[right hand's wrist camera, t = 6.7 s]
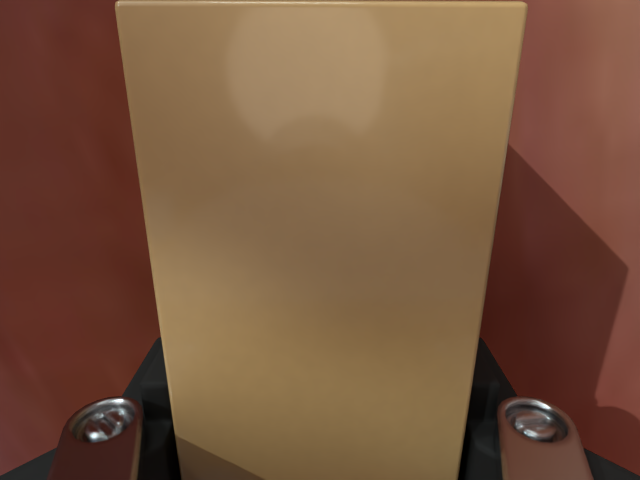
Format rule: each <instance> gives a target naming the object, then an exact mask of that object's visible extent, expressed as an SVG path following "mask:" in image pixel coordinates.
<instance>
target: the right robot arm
mask: <svg viewBox="0 0 640 480" xmlns="http://www.w3.org/2000/svg"><path fill="white" fill-rule="evenodd" d="M0 480H181V474H180V467H179V460H178V453H177V446H176V439H175V432H174V425H173V417H172V410H171V403H170V396H169V389H168V382H167V375H166V368H165V360H164V353H163V346H162V339H161V337H160V338H158V339H157V340H156V341H155V343H154V344H153V346H152V348H151V349H150V351H149V353H148V354H147V356H146V357H145V359H144V361H143V362H142V364H141V366H140V367H139V369H138V371H137V372H136V374H135V375H134V377H133V379H132V380H131V382H130V384H129V385H128V387H127V389H126V390H125V392H124V393H123V395H122V396H116V397H107V398H104V399H100V400H97V401H94V402H92V403H90V404H88V405H85V406H84V407H82V408H81V409H79V410H78V411H76V412H75V413H74V414H73V415H72V416H71V417H70V418H69V419H68V421H67V422H66V424H65V426H64V428H63V431H62V434H61V437H60V440H59V443H58V446H57V448H55V449H53V450H51V451H49V452H47V453H45V454H43V455H41V456H39V457H37V458H35V459H33V460H31V461H29V462H27V463H25V464H23V465H21V466H19V467H17V468H15V469H13V470H11V471H9V472H7V473H5V474H3V475H1V476H0ZM458 480H640V476H638V475H636V474H634V473H632V472H630V471H628V470H626V469H624V468H622V467H620V466H618V465H616V464H614V463H612V462H610V461H608V460H606V459H604V458H602V457H600V456H598V455H596V454H594V453H592V452H590V451H588V450H586V449H584V448H583V446H582V443H581V440H580V437H579V434H578V431H577V428H576V426H575V424H574V422H573V421H572V419H571V418H570V417H569V416H568V415H567V414H566V413H565V412H564V411H562V410H561V409H559V408H558V407H556V406H555V405H552V404H550V403H548V402H546V401H543V400H540V399H536V398H533V397H524V396H517V395H516V393H515V391H514V390H513V388H512V386H511V385H510V383H509V381H508V380H507V378H506V377H505V375H504V373H503V372H502V370H501V368H500V367H499V365H498V364H497V362H496V360H495V359H494V357H493V355H492V354H491V352H490V350H489V349H488V347H487V346H486V344H485V342H484V341H483V340H482V338H479V341H478V348H477V355H476V361H475V368H474V375H473V381H472V388H471V395H470V402H469V408H468V415H467V422H466V429H465V435H464V442H463V449H462V456H461V462H460V469H459V476H458Z"/></svg>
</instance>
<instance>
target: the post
mask: <svg viewBox="0 0 640 480" xmlns="http://www.w3.org/2000/svg"><path fill="white" fill-rule="evenodd" d="M115 11H116V19H117V26H118V33H119V40H120V47H121V54H122V61H123V68H124V76H125V83H126V90H127V97H128V104H129V111H130V118H131V125H132V133H133V140H134V147H135V154H136V161H137V168H138V175H139V182H140V190H141V197H142V204H143V211H144V218H145V225H146V232H147V239H148V247H149V254H150V261H151V268H152V275H153V282H154V289H155V296H156V303H157V311H158V318H159V325H160V332H161V339H162V346H163V353H164V360H165V368H166V375H167V382H168V389H169V396H170V403H171V410H172V417H173V425H174V432H175V439H176V446H177V453H178V460H179V467H180V474H181V480H458V476H459V469H460V462H461V456H462V449H463V442H464V435H465V429H466V422H467V415H468V408H469V402H470V395H471V388H472V381H473V375H474V368H475V361H476V355H477V348H478V341H479V334H480V328H481V321H482V314H483V307H484V301H485V294H486V287H487V280H488V274H489V267H490V260H491V254H492V247H493V240H494V233H495V227H496V220H497V213H498V206H499V200H500V193H501V186H502V179H503V173H504V166H505V159H506V153H507V146H508V139H509V132H510V126H511V119H512V112H513V105H514V99H515V92H516V85H517V78H518V72H519V65H520V58H521V52H522V45H523V38H524V31H525V25H526V18H527V11H528V6H527V4H526V3H524V2H522V1H344V0H119V1H117V2H116V3H115Z"/></svg>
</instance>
